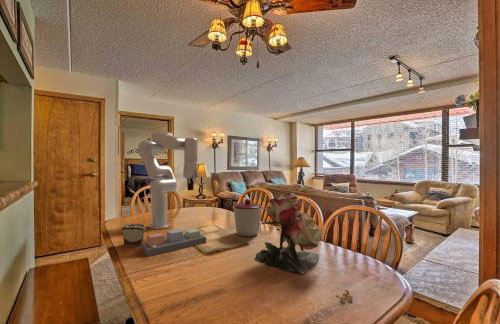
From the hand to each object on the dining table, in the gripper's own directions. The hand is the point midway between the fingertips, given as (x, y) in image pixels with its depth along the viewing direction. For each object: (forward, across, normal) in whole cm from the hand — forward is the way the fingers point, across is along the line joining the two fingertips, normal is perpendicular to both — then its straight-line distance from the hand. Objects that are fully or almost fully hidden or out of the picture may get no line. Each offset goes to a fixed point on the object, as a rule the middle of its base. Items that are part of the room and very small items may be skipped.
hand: (190, 189), depth 142 cm
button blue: (+24, +11, -14) cm, 30 cm away
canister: (+27, +19, +28) cm, 43 cm away
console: (+27, +11, -14) cm, 32 cm away
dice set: (+27, +92, +12) cm, 96 cm away
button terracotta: (+24, +11, -24) cm, 36 cm away
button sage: (+26, +11, -4) cm, 28 cm away
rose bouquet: (+26, +60, +22) cm, 69 cm away
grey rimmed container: (+27, -4, -29) cm, 40 cm away
